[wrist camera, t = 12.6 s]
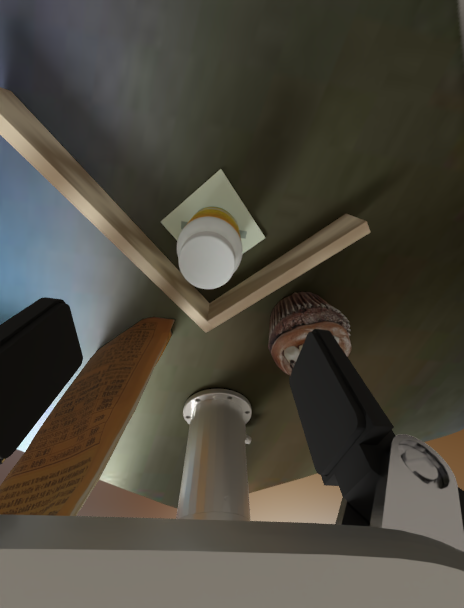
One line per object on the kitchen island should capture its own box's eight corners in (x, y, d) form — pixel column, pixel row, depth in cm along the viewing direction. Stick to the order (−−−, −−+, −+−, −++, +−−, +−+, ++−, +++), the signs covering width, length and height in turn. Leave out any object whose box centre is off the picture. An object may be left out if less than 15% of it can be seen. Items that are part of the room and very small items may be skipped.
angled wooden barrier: (349, 223, 23) (370, 232, 20) (208, 313, 29) (205, 332, 26) (180, -181, 12) (162, -318, 9) (3, 103, 18) (-49, 87, 14)
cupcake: (285, 352, 34) (304, 414, 25) (249, 310, 29) (259, 368, 21) (344, 321, 31) (389, 380, 22) (314, 270, 26) (356, 319, 18)
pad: (265, 237, 24) (265, 238, 24) (209, 276, 26) (209, 277, 26) (220, 168, 21) (220, 168, 20) (161, 221, 23) (160, 222, 23)
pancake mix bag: (69, 356, 33) (-335, 834, 9) (158, 291, 27) (-280, 1076, 4) (106, 379, 36) (-129, 788, 12) (193, 325, 30) (74, 882, 7)
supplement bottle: (240, 254, 25) (247, 295, 17) (193, 258, 25) (177, 301, 17) (236, 202, 22) (242, 221, 14) (184, 207, 22) (159, 229, 14)
